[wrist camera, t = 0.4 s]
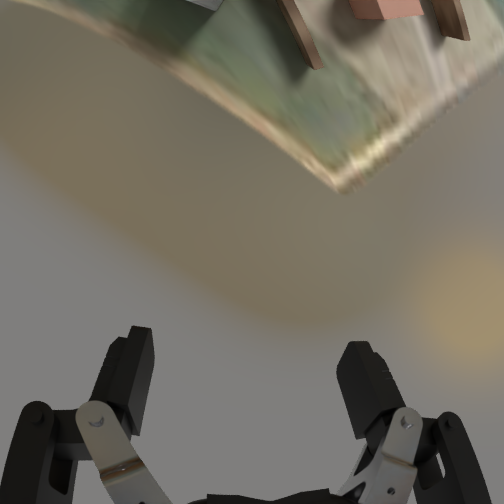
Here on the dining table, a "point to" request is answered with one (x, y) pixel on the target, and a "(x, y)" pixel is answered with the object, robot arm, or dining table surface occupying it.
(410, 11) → the terracotta block
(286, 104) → the dining table surface
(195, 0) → the small box
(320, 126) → the dining table surface
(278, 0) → the u-shaped bracket
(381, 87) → the dining table surface
